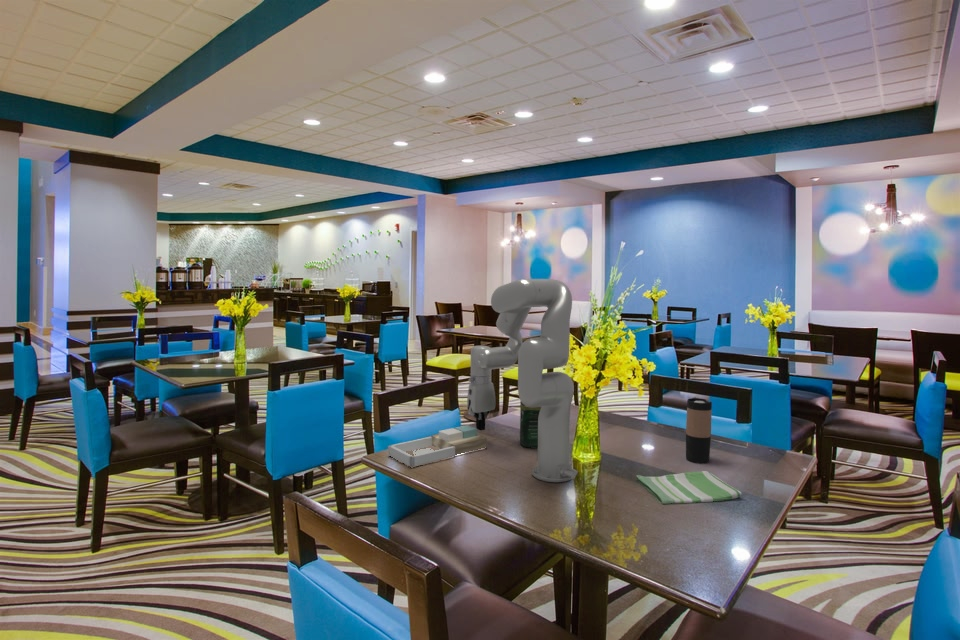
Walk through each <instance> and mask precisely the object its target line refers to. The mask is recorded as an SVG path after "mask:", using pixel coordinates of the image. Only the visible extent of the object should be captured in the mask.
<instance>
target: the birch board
mask: <svg viewBox="0 0 960 640" xmlns="http://www.w3.org/2000/svg"><path fill="white" fill-rule="evenodd" d="M430 437H432V446H434V447H437V448H439V449H443V448H448V447H452V446H454V447H455V455H457V454H461V453H465V452H469V451H473V450H478V449H481V448H485V447H487V440H488V439H487V437H486V436H483V435H481V434H479V433H477V436H473V437H469V438H463V439H460V440H456V441H451V442H447V441H445V440H442V439H440V438H439V433H438V434H433V435H431V436H430Z"/></svg>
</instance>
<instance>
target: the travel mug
mask: <svg viewBox="0 0 960 640" xmlns="http://www.w3.org/2000/svg"><path fill="white" fill-rule="evenodd" d="M712 402H713V401H708V400H707V399H705V398H700V397H698V398H695V397H693V398H688V399H687V402H686V403H687V404H686V421H685V423H686V424H685V425H686V426H685V459H686V461H688V462H690V463H693V464H701V465H702V463H704V464H708V463H709V461H710V456H711V455H710V454H711V440H712V414H713V413H712V412H713V410H712V408H713V407H712V405H713V403H712Z"/></svg>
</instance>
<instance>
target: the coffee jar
mask: <svg viewBox="0 0 960 640" xmlns="http://www.w3.org/2000/svg"><path fill="white" fill-rule="evenodd" d="M519 400H520V399H519ZM519 407H520V412H519V413H520V415H519V418H520V419H519V421H520V422H519V442H520V445H521V446H523V447H525V448H530V447H531V448H530V449H536V448H538V417H539V412H540V409H541V407H542V406H541V407H535V408H530V407H526V406H525V405H524V404H523V403H522V402H521V400H520V406H519Z"/></svg>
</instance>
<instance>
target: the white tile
mask: <svg viewBox="0 0 960 640" xmlns="http://www.w3.org/2000/svg"><path fill="white" fill-rule="evenodd" d="M454 428H455V427H451V428H446V429H443V430H438V434H439V438H440V439H442V440H445V441H447V442H451V441H456V440H460V439H463V432H462V431H459V430H456V429H454Z"/></svg>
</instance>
